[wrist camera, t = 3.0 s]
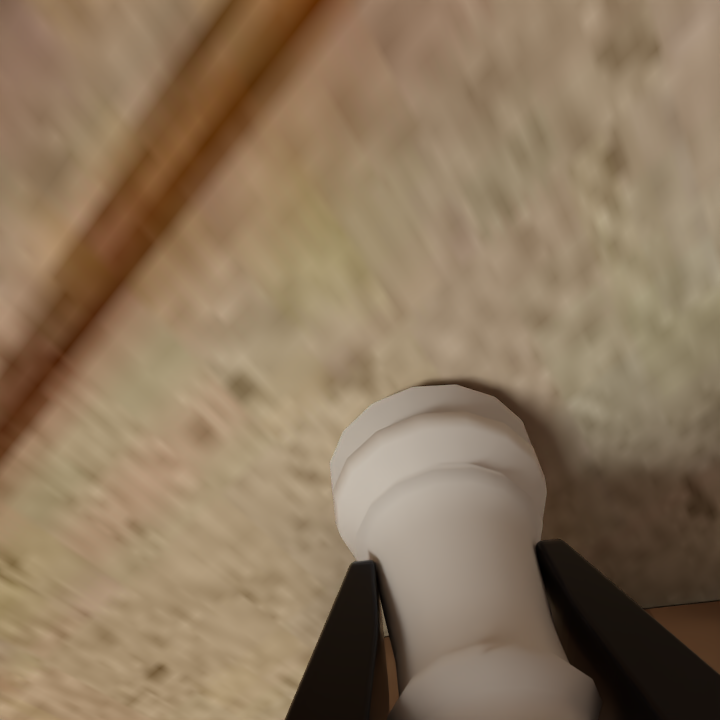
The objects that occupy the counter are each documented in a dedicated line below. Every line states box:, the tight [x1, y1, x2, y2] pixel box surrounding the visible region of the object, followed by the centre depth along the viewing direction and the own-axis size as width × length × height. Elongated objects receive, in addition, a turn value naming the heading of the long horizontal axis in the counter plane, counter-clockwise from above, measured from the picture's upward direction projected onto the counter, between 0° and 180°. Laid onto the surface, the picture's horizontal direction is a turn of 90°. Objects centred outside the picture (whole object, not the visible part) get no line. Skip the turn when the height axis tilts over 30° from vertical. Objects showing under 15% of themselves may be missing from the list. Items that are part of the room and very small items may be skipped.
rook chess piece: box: [330, 384, 603, 720], centre depth 8 cm, size 4×4×8 cm
